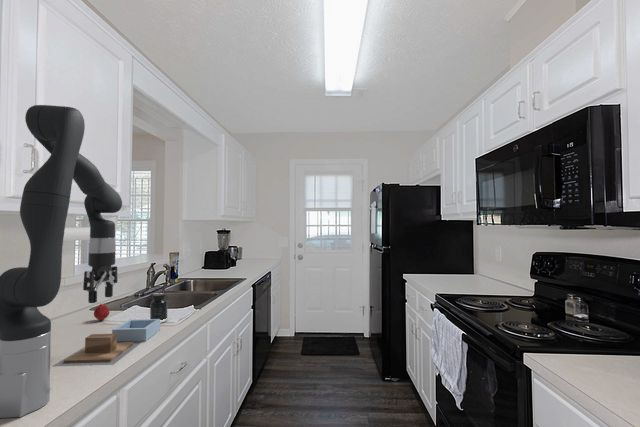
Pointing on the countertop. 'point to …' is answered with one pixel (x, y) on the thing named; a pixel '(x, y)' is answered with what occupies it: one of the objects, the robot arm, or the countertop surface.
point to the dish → (137, 330)
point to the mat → (98, 362)
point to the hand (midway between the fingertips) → (101, 299)
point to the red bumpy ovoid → (101, 312)
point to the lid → (99, 349)
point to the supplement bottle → (158, 307)
